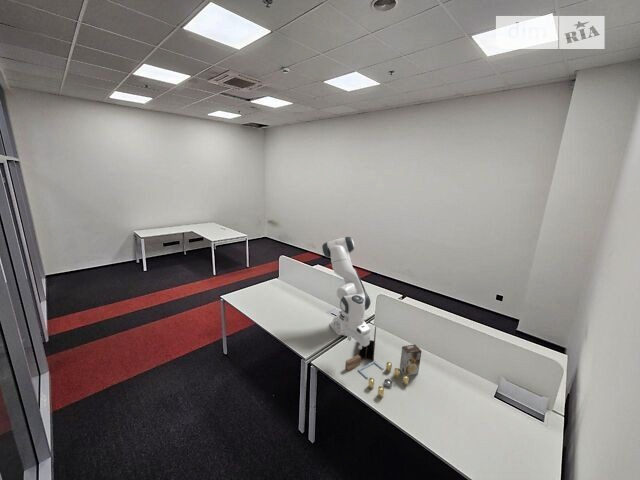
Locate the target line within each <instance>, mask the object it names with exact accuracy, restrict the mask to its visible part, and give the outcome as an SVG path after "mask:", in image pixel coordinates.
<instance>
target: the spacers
mask: <svg viewBox="0 0 640 480" xmlns="http://www.w3.org/2000/svg"><path fill="white" fill-rule="evenodd" d="M392 366H393V365H392V362H391V361H387V362H386V366H385V372H386V373H387V374H388V373H390V374H391V372H392ZM393 373H394V374H393V378H394V379H395V380H399V379H400V373H401V370H400V368H398V367H396V368H394V371H393ZM409 378H410V375H404V374H403V375H402V382H401V385H403V386H405V387H407V386H408V385H409ZM374 385H375V379H374V378H373V377H368V383H367V388H368V389H369V390H374V388H375V387H374ZM384 392H385V387H383V386H382V385H379V386H378V389H377V398H378V399H380V400H381V399H383V398H384Z"/></svg>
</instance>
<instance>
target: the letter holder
mask: <svg viewBox="0 0 640 480" xmlns="http://www.w3.org/2000/svg"><path fill="white" fill-rule="evenodd" d="M376 333H377V326H376V325H375V327H374V335H373V340H371V339H370V343H369V345H367V346H365V347H364V346H362V349H359V348H358V354H357V355H359V356H360V357H361V360H366V361H370V362H373V361H375V349H376V347H375V346H376Z"/></svg>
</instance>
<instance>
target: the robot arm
mask: <svg viewBox="0 0 640 480" xmlns="http://www.w3.org/2000/svg"><path fill="white" fill-rule="evenodd" d="M354 249H355V242H354V240H353V238H352V237H351V236H344V237H340V238H336V239H333V240H330V241H328V242H326V241H325V242H324V243H323V244H322V246H321V250H322V252H321V253H322V254H323V255H324V257H326V258H330V262H331V266H332V270H333V273H335V274H336V275H337V276H339V277H341V278H342V279H343V280H344V282H345V283H343V284H341V285H340V286H339V287H338V288H337V290H336V297H337V298H338V300H340V301H339V302H340V303H339V306H340V309H341V310H340V311H338V314H337V315H335V316H334V317H333V319H332V320H331V321H330V322H329V326H330V328H331V329H333V331H334V332H335V333H336V334H337V335H338V336H345V337H347V341H349V342H350V341H351V340H352V339H354V341H356V342H358V343H359V345H357V346H358V347H357V348H358V350H359V349H362V346H364V347H365V346H367V345H369V343H370V340H371V334H370V332H371V328H370V326H369V325H368V324H367V322H366V321H365V317H364V316H365V312H366V311H367V310H368V309H369V308H370V305H371V301H372V300H371V298H370V296H369V294H368V293H367V291H366V289H365V282H364V281H363V280H362V279H361V276H360V274H359V273H358V271H357V269H356V268H354V267H353V263H352V260H351V256H350V254H351V252H353V251H354Z"/></svg>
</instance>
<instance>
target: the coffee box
mask: <svg viewBox="0 0 640 480" xmlns="http://www.w3.org/2000/svg"><path fill="white" fill-rule="evenodd" d="M400 354H401V356H400V362H399V369H400V372H401V373H402V374H403V375H408V376H413V375H418V374H419V371H420V365H421V357H422V350H421V349H420V347H418V345H416V344H410V345H409V344H408V345H403V346H402V347H401V353H400Z"/></svg>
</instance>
